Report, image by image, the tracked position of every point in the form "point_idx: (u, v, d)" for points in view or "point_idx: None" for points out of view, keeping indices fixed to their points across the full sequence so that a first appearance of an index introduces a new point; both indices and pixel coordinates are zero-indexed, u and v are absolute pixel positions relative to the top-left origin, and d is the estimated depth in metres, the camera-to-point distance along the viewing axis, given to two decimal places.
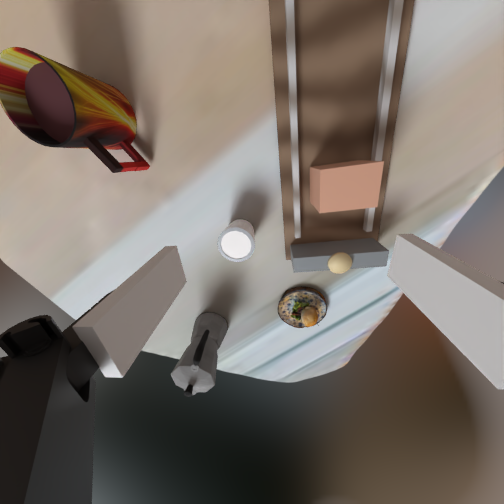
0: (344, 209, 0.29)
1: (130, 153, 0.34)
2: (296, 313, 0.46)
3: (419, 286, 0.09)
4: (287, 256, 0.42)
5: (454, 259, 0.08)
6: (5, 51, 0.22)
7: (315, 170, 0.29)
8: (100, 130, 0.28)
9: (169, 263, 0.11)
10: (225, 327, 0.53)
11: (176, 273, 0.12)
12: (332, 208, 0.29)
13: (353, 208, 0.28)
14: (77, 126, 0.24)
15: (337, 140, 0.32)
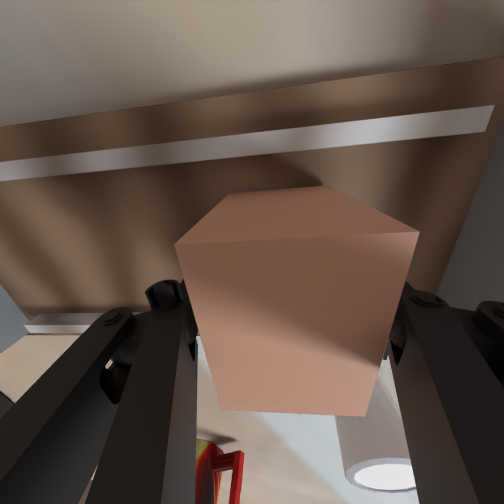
0: (376, 360, 0.06)
1: (224, 469, 0.28)
2: None
3: None
4: None
5: None
6: None
7: None
8: None
9: None
10: None
11: None
12: (359, 390, 0.07)
13: (383, 333, 0.06)
14: None
15: None
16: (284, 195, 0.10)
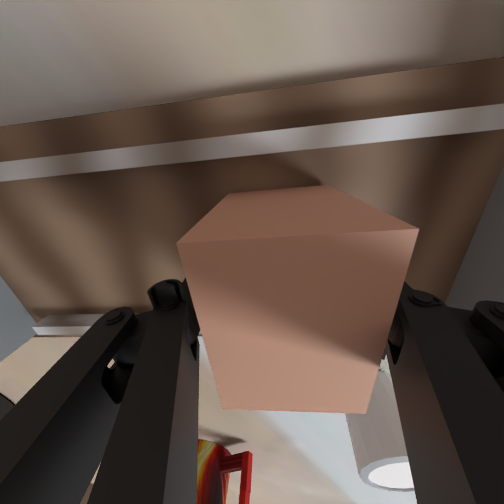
0: (376, 357, 0.07)
1: (232, 470, 0.28)
2: None
3: None
4: None
5: None
6: None
7: None
8: None
9: None
10: None
11: None
12: (360, 386, 0.07)
13: (384, 329, 0.06)
14: None
15: None
16: (284, 194, 0.10)
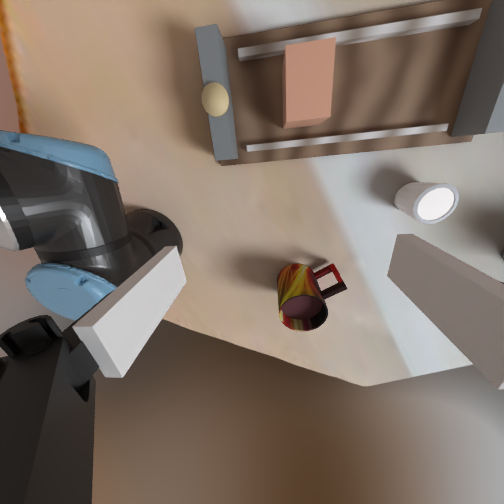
0: (331, 84, 0.25)
1: (323, 274, 0.46)
2: None
3: (419, 286, 0.09)
4: (466, 140, 0.34)
5: (454, 259, 0.08)
6: (280, 316, 0.40)
7: (286, 124, 0.30)
8: (315, 286, 0.41)
9: (169, 263, 0.11)
10: None
11: (176, 273, 0.12)
12: (327, 101, 0.26)
13: (332, 72, 0.25)
14: (319, 298, 0.38)
15: (347, 89, 0.32)
16: None
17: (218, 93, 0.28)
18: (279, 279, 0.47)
